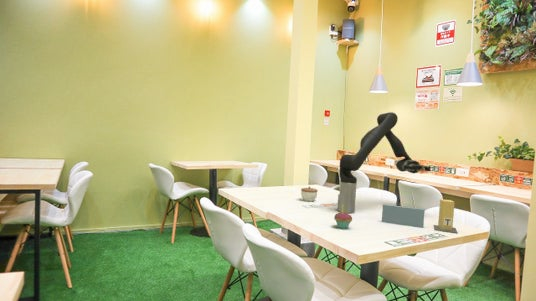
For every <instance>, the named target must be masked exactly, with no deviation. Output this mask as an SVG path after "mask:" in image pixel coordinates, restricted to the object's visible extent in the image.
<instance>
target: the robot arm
mask: <svg viewBox="0 0 536 301" xmlns="http://www.w3.org/2000/svg"><path fill="white" fill-rule="evenodd" d="M376 122H377V126H375V127H373V128H372V129H370V130H368V131H367V132H366V133H365V135H363V136H362V137H361V140H360V148H359V149H358V151H357V152H356V153H355V154H346V153H345V154H343V155H341V157H340V159H339V178H340V180H339V181H340V183H339V194H337V209H336V210H337V211H338V212H339V213H341V212H342V203H343V212H345V213H348V214H355V211H356V197H357V196H356V195H357V182H358V180H357V177H356V176H354V175H353V174H352V172H356V171H359V169H360V168H361V167H362V165H363V164H364V162H365V161H366V160H367V158H368V156H369V155H370V154H371V153H372V151H373V150H374V149H375V148H376V147H377V146H378V144H379V143H380V142H381V141H382V140H383V138H384V137H385V138H386V140H387V141H388V144H389V145H390V147H391V149H392V152H393V154H394V157H395V158H402V159H400V160H398V161H397V162H396V163H395V165H396V166H395V167H396V169H397V170H398V171H399V172H408V173H411V174H418V173H419V172H431V168H432V166H429V165H423V164H420V162H419V161H417V160H414V159H412V158H411V157H410V156H409V154H408V152H407V151H406V149H405V146H404V144H403V142H402V140H400V138H399V137H398V136H396V135H395V133H394V132H393V131H392V129H393V128H394V127H395V126H396V125H397V124H398V115H397V114H396V113H395V112H393V111H392V112H391V111H389V112H386V113H381V114H378V116H377V118H376Z"/></svg>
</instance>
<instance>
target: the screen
mask: <svg viewBox="0 0 536 301" xmlns="http://www.w3.org/2000/svg"><path fill="white" fill-rule="evenodd" d="M381 211H382V212H381V222H382V223H387V224H395V225H401V226H408V227H414V228H415V227H417V228H420V229H421V228H423V229H424V223H425V222H424V221H425V212H426V211H425V208H418V207H417V208H416V207H408V206H399V205H393V204H382V210H381Z"/></svg>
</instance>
